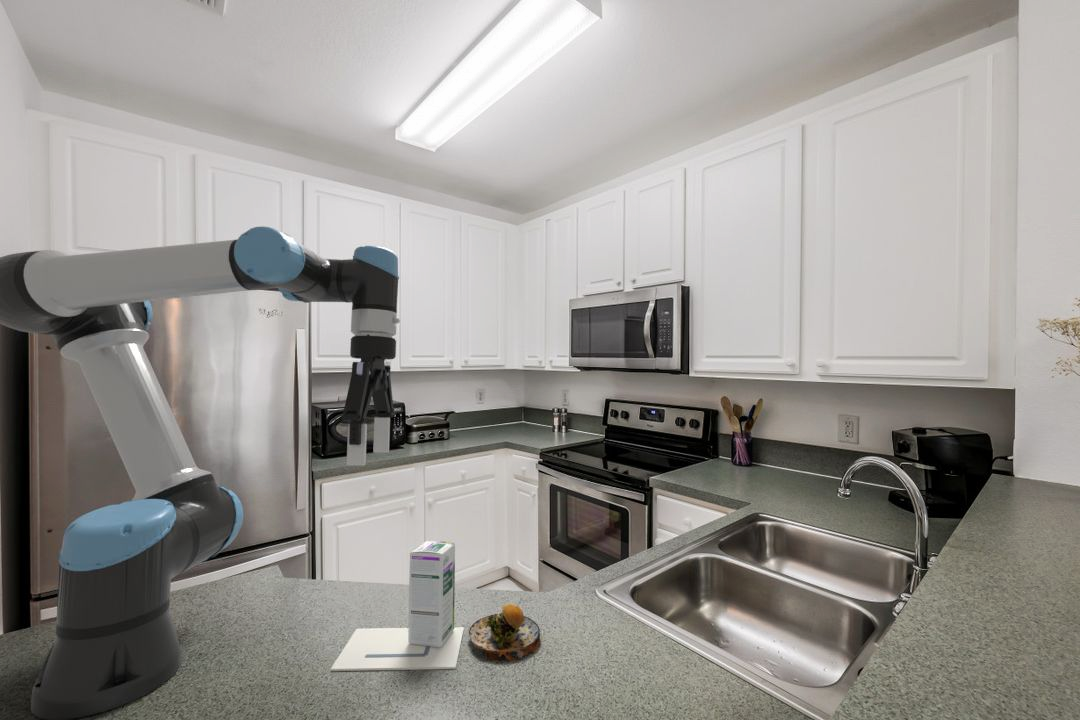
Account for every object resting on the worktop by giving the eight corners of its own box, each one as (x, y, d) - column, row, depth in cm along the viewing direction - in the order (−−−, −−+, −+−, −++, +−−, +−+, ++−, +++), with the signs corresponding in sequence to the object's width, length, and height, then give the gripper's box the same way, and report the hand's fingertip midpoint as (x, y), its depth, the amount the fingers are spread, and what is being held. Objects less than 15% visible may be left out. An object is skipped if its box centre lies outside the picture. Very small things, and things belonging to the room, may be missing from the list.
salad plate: (494, 616, 83) (494, 574, 84) (552, 634, 78) (553, 589, 78) (452, 650, 73) (453, 602, 73) (517, 673, 67) (517, 620, 68)
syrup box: (441, 648, 72) (444, 553, 73) (406, 644, 73) (409, 550, 74) (454, 630, 77) (456, 542, 78) (421, 626, 78) (424, 539, 80)
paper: (330, 671, 66) (330, 668, 66) (356, 630, 77) (356, 628, 77) (455, 668, 67) (455, 666, 67) (463, 629, 78) (464, 626, 78)
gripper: (373, 328, 68) (368, 472, 67) (411, 343, 93) (408, 448, 92) (322, 327, 68) (316, 471, 67) (374, 342, 93) (370, 448, 92)
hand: (369, 458), depth 80 cm, fingers open, 13 cm apart
